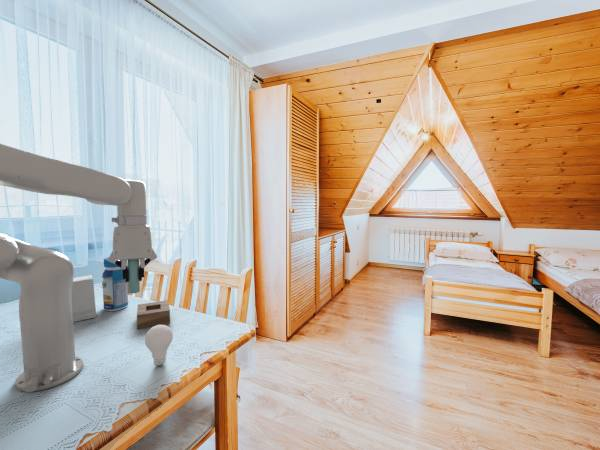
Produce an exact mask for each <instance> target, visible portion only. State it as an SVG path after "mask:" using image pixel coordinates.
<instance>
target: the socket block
mask: <svg viewBox="0 0 600 450" xmlns="http://www.w3.org/2000/svg"><path fill="white" fill-rule="evenodd" d="M136 310H137V311H136V325H137V326H136V329H137V330H143V329H148V328H152V327H154V326H156V325H166V326H167V325H170V324H171V309H170V304H169V300H163V301H162V300H160V301H154V302H147V303H139V304H137V309H136Z"/></svg>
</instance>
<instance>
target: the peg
mask: <svg viewBox="0 0 600 450" xmlns="http://www.w3.org/2000/svg"><path fill="white" fill-rule="evenodd" d="M127 266H128V282H127V288H128V293H129V294H137V293H140V291H141V287H140V286H141V284H140V282H141V281H139V267H140V259H131V260H127Z"/></svg>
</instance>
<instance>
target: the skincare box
mask: <svg viewBox="0 0 600 450" xmlns="http://www.w3.org/2000/svg"><path fill="white" fill-rule="evenodd" d="M95 299H96V298H95V286H94V277H93V275H92V274H89V275H82V276H76V277H73V283H72V313H73V323H77V322H79V321H80V322H81V321H83V320H89V319H94V318H96V317H97V311H96V310H97V309H96V300H95Z"/></svg>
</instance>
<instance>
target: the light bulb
mask: <svg viewBox="0 0 600 450" xmlns="http://www.w3.org/2000/svg"><path fill="white" fill-rule="evenodd" d="M173 338H174V336H173V331H172V329H171V328H170V327H169V326H168V325H167V324H166V325H156V326H154V327H150V329H149V330H148V331H147V332H146V335H145V337H144V344H145V346H146V348H147V349H148V350H149V351H150V353H151V356H152V358H153V365H154V366H157V367H160V366H163V365H164V364H166V360H167V359H166V357H167V353H168V349H169V347H170V345H171V343H172V341H173Z"/></svg>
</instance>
